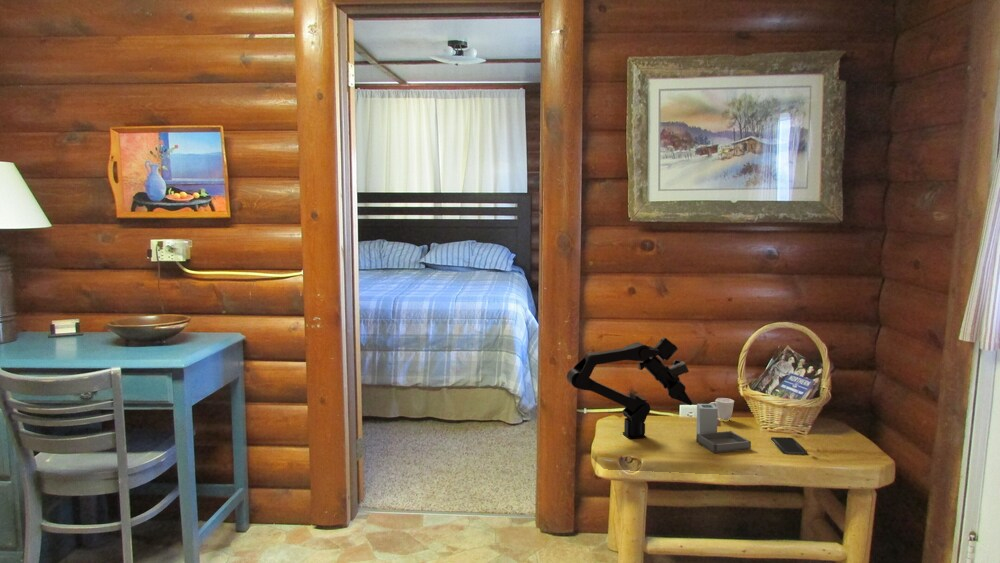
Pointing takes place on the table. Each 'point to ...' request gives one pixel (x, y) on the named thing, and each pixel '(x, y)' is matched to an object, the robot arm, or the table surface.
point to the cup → (724, 407)
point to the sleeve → (707, 418)
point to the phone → (789, 446)
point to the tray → (723, 442)
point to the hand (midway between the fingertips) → (689, 400)
